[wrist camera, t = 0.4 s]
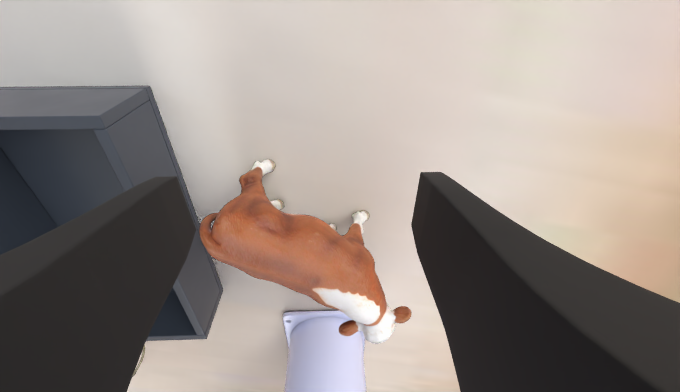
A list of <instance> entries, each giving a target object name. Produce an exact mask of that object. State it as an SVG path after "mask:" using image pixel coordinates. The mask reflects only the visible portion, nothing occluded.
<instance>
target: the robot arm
mask: <svg viewBox="0 0 680 392" xmlns="http://www.w3.org/2000/svg"><path fill="white" fill-rule="evenodd" d="M411 225H412V230H413V235H414V240H415V244H416V249H417V253H418V256H419V259H420V262H421V264H422V267H423V270H424V273H425V276H426V278H427V281H428V284H429V286H430V289H431V292H432V295H433V297H434V300H435V303H436V305H437V308H438V311H439V314H440V316H441V319H442V322H443V325H444V328H445V332H446V335H447V338H448V342H449V346H450V350H451V354H452V358H453V362H454V366H455V370H456V374H457V378H458V382H459V386H460V391H461V392H680V303H678V302H676V301H673V300H670V299H668V298H666V297H663V296H661V295H659V294H656V293H654V292H651V291H649V290H647V289H644V288H642V287H640V286H637V285H635V284H633V283H631V282H628V281H626V280H624V279H622V278H620V277H618V276H615V275H613V274H611V273H609V272H607V271H604V270H602V269H600V268H598V267H596V266H594V265H592V264H590V263H588V262H586V261H584V260H581V259H579V258H578V257H576V256H574V255H572V254H570V253H568V252H566V251H564V250H562V249H561V248H559V247H557V246H555V245H553V244H551V243H549V242H547V241H546V240H544V239H542V238H540V237H539V236H537V235H535V234H533V233H532V232H530V231H529V230H527V229H525V228H524V227H522V226H520V225H519V224H517V223H516V222H514V221H512V220H511V219H509V218H508V217H506V216H505V215H503V214H502V213H500V212H499V211H497V210H496V209H494V208H493V207H491V206H490V205H488V204H487V203H485V202H484V201H482V200H481V199H480V198H478V197H477V196H475V195H474V194H473V193H471V192H470V191H468V190H467V189H466V188H464V187H463V186H461V185H460V184H458V183H457V182H456V181H454V180H453V179H451V178H450V177H448V176H447V175H445V174H443V173H442V172H421V174H420V179H419V185H418V191H417V196H416V202H415V207H414V213H413V219H412V224H411ZM195 232H196V227H195V224H194V222H193V219H192V216H191V213H190V211H189V208H188V205H187V202H186V200H185V197H184V194H183V192H182V189H181V186H180V183H179V181H178V178H177V176H170V177H154V178H152V179H149V180H147V181H145V182H143V183H141V184H138V185H136V186H135V187H133V188H131V189H129V190H127V191H125V192H123V193H121V194H119V195H117V196H116V197H114V198H112V199H110V200H108V201H106V202H105V203H103V204H101V205H99V206H97V207H95V208H93V209H92V210H90V211H88V212H86V213H84V214H82V215H80V216H79V217H77V218H75V219H73V220H71V221H69V222H67V223H65V224H63V225H61V226H59V227H57V228H55V229H53V230H51V231H49V232H47V233H45V234H43V235H41V236H39V237H37V238H35V239H33V240H31V241H29V242H27V243H25V244H23V245H21V246H19V247H16V248H14V249H12V250H10V251H8V252H6V253H3V254H1V255H0V392H127V389H128V386H129V384H130V381H131V378H132V376H133V373H134V370H135V368H136V365H137V362H138V360H139V357H140V355H141V352H142V349H143V347H144V344H145V342H146V340H147V338H148V335H149V333H150V331H151V329H152V327H153V325H154V323H155V321H156V319H157V317H158V315H159V313H160V311H161V309H162V307H163V305H164V303H165V301H166V299H167V297H168V295H169V293H170V291H171V289H172V287H173V285H174V283H175V281H176V279H177V277H178V275H179V273H180V271H181V269H182V267H183V265H184V263H185V261H186V259H187V256H188V253H189V251H190V248H191V245H192V242H193V238H194V235H195ZM349 320H352V319H350V318H349V317H348V316H346V315H345V314H344V313H343V312H342V311H340V310H339V311H303V312H285V313H284V314H283V322H284V327H285V332H286V337H287V343H288V348H289V354H288V363H287V373H286V382H285V391H284V392H367V391H366V380H365V369H364V358H363V356H364V345H365V337H364V334H363V332H362V331H358V332H356V333H354V334H353V335H351V336H344V335H341V334H340V333H339V326H340V325H341V324H342V323H344V322H346V321H349Z"/></svg>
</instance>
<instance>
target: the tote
mask: <svg viewBox="0 0 680 392" xmlns="http://www.w3.org/2000/svg"><path fill="white" fill-rule="evenodd" d="M170 176H177V178H178V181H179V183H180V186H181V189H182V192H183V194H184V197H185V200H186V202H187V205H188V208H189V211H190V213H191V216H192V219H193V222H194V224H195V227H196V232H195V235H194V238H193V242H192V245H191V248H190V251H189V253H188V256H187V259H186V261H185V263H184V265H183V267H182V269H181V271H180V273H179V275H178V277H177V279H176V281H175V283H174V285H173V287H172V289H171V291H170V293H169V295H168V297H167V299H166V301H165V303H164V305H163V307H162V309H161V311H160V313H159V315H158V317H157V319H156V321H155V323H154V325H153V327H152V329H151V331H150V333H149V335H148V338H147V340H146V341H156V340H191V339H207V336H208V333H209V330H210V328H211V325H212V322H213V319H214V316H215V313H216V310H217V307H218V304H219V301H220V298H221V295H222V292H223V288H222V286H221V283H220V280H219V277H218V275H217V272H216V269H215V266H214V263H213V261H212V258H211V255H210V254H209V253H208V251H207V250H206V248H205V246H204V245H203V243H202V241H201V238H200V233H199V228H200V224H199V222H198V219H197V216H196V213H195V210H194V208H193V205H192V202H191V199H190V196H189V194H188V191H187V188H186V185H185V182H184V180H183V177H182V174H181V171H180V169H179V166H178V163H177V160H176V157H175V155H174V152H173V149H172V146H171V143H170V141H169V138H168V135H167V132H166V130H165V127H164V124H163V121H162V118H161V116H160V113H159V110H158V107H157V104H156V102H155V99H154V96H153V93H152V90H151V88H150V86H76V87H0V255H1V254H3V253H6V252H8V251H10V250H12V249H14V248H16V247H19V246H21V245H23V244H25V243H27V242H29V241H31V240H33V239H35V238H37V237H39V236H41V235H43V234H45V233H47V232H49V231H51V230H53V229H55V228H57V227H59V226H61V225H63V224H65V223H67V222H69V221H71V220H73V219H75V218H77V217H79V216H80V215H82V214H84V213H86V212H88V211H90V210H92V209H93V208H95V207H97V206H99V205H101V204H103V203H105V202H106V201H108V200H110V199H112V198H114V197H116V196H117V195H119V194H121V193H123V192H125V191H127V190H129V189H131V188H133V187H135V186H136V185H138V184H141V183H143V182H145V181H147V180H149V179H152V178H154V177H170Z"/></svg>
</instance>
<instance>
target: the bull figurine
mask: <svg viewBox="0 0 680 392" xmlns="http://www.w3.org/2000/svg"><path fill="white" fill-rule="evenodd" d="M274 168H275V163H274V162H273V161H271V160H269V159H266V160H264V161H262V162H261V163H260V162H259V161H255V163H254V165H253V167H252V168H251V170H250V171H249V172H248V173H246V174H245V175H242V176H241V177H240V179H239V181H240V184H241V187H242V191H241V194H240V195H239V196H238V197H236V198H234V199H233V200H231V201H230V202H228V203H227V204H226V205H225V206H224V207H223V208H222V209H221V210H220V212H219V213H213V214H210V215H208V216H206V217H205V218H204V219H203V220H202V222H201V224H200V228H199V233H200V238H201V241H202V243H203V245H204V246H205V248H206V250H207V251H208V253H209V254H210V255H211V256H212V257H213V258H215V259H217V260H219V261H221V262H223V263H226V264H228V265H231V266H234V267H236V268H238V269H240V270H242V271H244V272H246V273H247V274H249V275H250V276H253V277H255V278H258V279H263V280H268V281H272V282H275V283H278V284H280V285H283V286H285V287H287V288H289V289H292V290H294V291H296V292H299V293H302V294H305V295H308V296H309V297H311V298H312V299H314V300H315V301H317V302H318V303H320V304H322V305H324V306H326V307H330V308H333V309H338V310H340V311H342V312H343V313H344V314H345V315H346V316H348V317H349V318H350V319H352V320H349V321H346V322H344V323H342V324H341V325H340V326H339V333H340V334H341V335H344V336H351V335H353V334H354V333H356V332H358V331H362V332H363V334H364V337H365V339H366V340H367V341H369V342H371V343H375V344H378V343H381V342H385V341H386V340H387V339H388V338H389V337H390V335H391V334H392V333H393V331H394V330H395V327H396V326H395V323H404V322H406V321H408V320H409V319H410V317H411V310H410V309H409V308H408V307H405V306H401V307H398V308H396V309H395V310H393V311H391V309H390V308H389V306H388V304H387V302H386V299H385V295H384V292H383V290H382V287H381V284H380V282H379V279H378V276H377V275H376V273H375V263H374V259H373V257H372V255H371V254H370V252H369V251H368V250H367V249H366V248H365V247H364V243H363V239H362V234H363V227H362V225H363V223H364V222H365V221H366V220H368V219H369V213H368V212H367V211H365V210H362V211H360V212H359V211H357V212H356V213H355V214H352V218H353V224H352V225H351V226H350V228H349V231H348V233H347V234H345V235H344V236H341V235H339V234H338V233H337V232H336V229H337V227H336V225H335V224H333V223H331V224H327V223H325V222H324V221H322V220H320V219H318V218H316V217H312V216H309V215H301V214H287V213H284V212H282V211H280V210H281V209H283V208H284V203H283V202H282V201H281V200H278V199H276V200H273V201H269V200H268V198H267V196H266V194H265V191H264V187H263V185H262V177H263V176H264V175H265V174H267V173H270V172H272V171H273V170H274ZM214 220H215V221H214ZM212 221H214V224H213V227H212V229H211V223H212Z"/></svg>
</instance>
